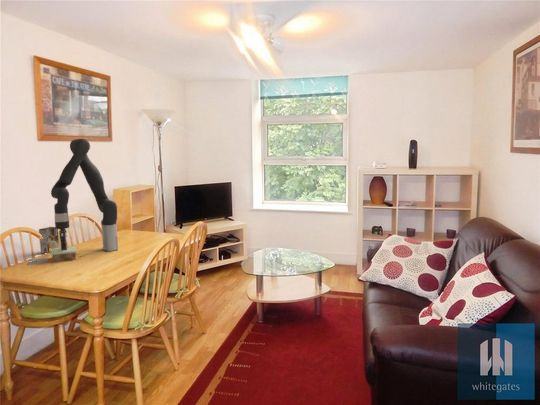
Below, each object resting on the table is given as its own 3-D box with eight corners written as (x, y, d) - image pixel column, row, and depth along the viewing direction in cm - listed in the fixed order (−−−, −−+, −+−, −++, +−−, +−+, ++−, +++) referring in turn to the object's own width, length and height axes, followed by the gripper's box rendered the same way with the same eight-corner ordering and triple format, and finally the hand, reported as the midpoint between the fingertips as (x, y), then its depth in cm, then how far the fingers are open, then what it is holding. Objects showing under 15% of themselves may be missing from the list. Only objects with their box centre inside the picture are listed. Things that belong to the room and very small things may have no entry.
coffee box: (52, 250, 266) (50, 226, 264) (59, 250, 264) (58, 226, 262) (40, 253, 257) (38, 229, 255) (48, 254, 255) (46, 229, 253)
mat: (48, 258, 245) (47, 257, 245) (46, 263, 234) (46, 262, 234) (29, 260, 241) (29, 259, 241) (26, 265, 230) (26, 264, 230)
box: (76, 255, 251) (75, 248, 251) (75, 260, 240) (75, 252, 240) (54, 258, 246) (53, 250, 246) (53, 263, 236) (52, 254, 235)
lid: (76, 247, 251) (75, 236, 250) (75, 252, 239) (75, 241, 239) (53, 250, 246) (52, 238, 245) (51, 255, 234) (50, 243, 233)
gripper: (68, 221, 235) (70, 249, 237) (69, 218, 248) (71, 244, 250) (53, 222, 232) (56, 251, 234) (55, 218, 245) (57, 245, 247)
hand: (64, 247), depth 242 cm, fingers open, 5 cm apart
